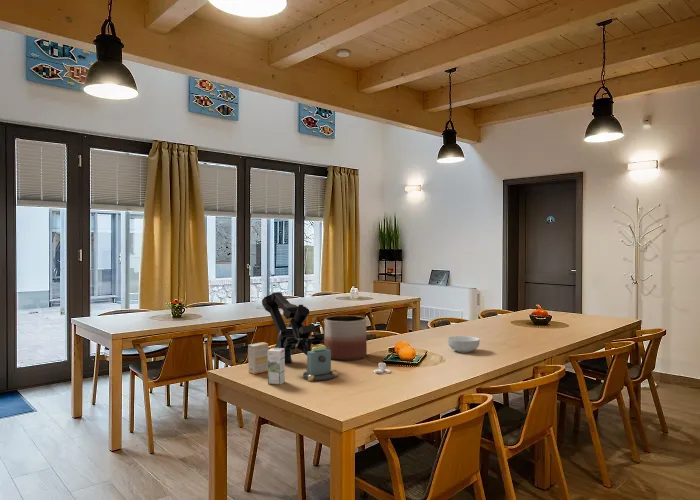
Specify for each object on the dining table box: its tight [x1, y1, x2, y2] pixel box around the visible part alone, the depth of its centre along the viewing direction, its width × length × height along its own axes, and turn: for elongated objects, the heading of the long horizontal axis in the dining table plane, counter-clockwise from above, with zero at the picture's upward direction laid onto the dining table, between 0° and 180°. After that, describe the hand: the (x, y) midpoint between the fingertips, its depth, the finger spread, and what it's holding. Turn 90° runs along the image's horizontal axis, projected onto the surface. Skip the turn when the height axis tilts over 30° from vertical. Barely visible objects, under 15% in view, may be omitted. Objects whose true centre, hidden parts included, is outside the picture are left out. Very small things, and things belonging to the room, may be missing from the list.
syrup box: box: [267, 347, 286, 386], centre depth 214 cm, size 6×6×14 cm
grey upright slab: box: [306, 345, 332, 375], centre depth 222 cm, size 6×10×12 cm, turn 123°
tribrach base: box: [302, 369, 339, 383], centre depth 224 cm, size 15×15×2 cm
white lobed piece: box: [373, 362, 392, 375], centre depth 232 cm, size 9×8×4 cm
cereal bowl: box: [447, 335, 480, 354], centre depth 274 cm, size 17×17×7 cm
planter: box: [323, 314, 368, 361], centre depth 263 cm, size 22×22×20 cm
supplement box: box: [247, 341, 269, 375], centre depth 232 cm, size 8×5×13 cm, turn 134°
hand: (309, 356), depth 230 cm, fingers closed
